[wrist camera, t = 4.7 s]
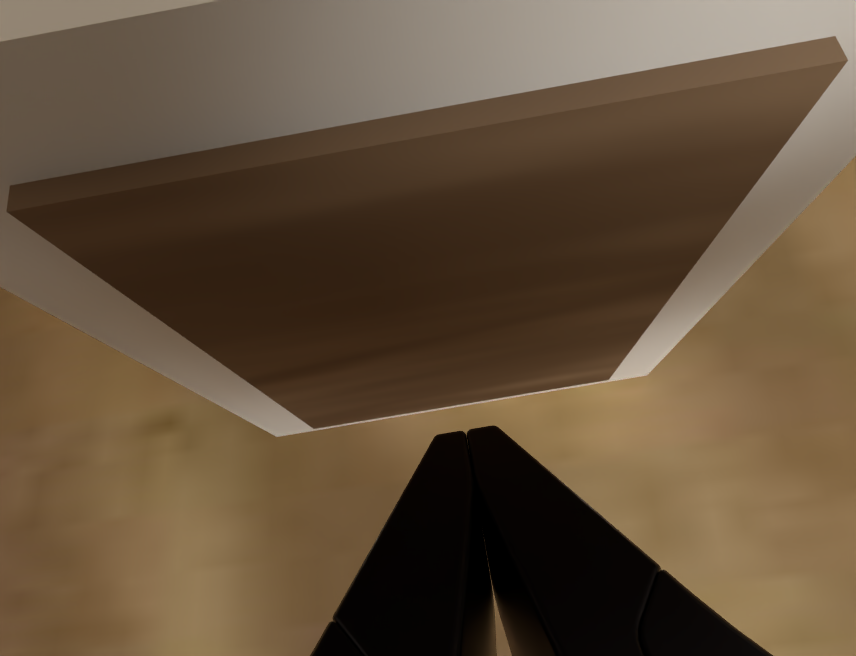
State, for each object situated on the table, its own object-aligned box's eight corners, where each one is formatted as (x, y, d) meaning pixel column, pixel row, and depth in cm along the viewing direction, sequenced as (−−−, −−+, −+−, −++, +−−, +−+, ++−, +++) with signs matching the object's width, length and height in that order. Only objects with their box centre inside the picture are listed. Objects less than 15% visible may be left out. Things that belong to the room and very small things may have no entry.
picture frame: (650, 385, 17) (1201, -153, 4) (277, 446, 17) (-349, 137, 4) (603, 227, 19) (873, -489, 6) (268, 285, 19) (-184, -270, 6)
